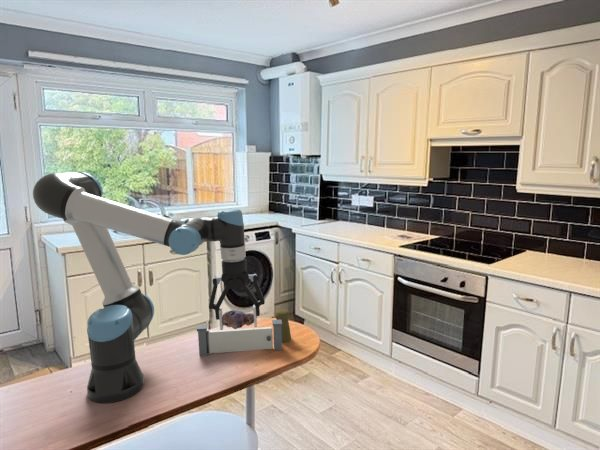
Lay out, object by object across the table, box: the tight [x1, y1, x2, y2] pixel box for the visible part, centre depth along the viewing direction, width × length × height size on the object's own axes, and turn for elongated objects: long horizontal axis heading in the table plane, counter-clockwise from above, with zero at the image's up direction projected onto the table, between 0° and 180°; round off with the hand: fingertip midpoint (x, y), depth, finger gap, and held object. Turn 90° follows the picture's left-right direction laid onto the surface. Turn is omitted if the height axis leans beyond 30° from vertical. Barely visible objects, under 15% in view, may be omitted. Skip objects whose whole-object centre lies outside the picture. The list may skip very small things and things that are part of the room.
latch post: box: [271, 319, 283, 352], centre depth 146 cm, size 3×4×10 cm
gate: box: [206, 326, 274, 355], centre depth 144 cm, size 22×2×8 cm, turn 97°
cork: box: [274, 309, 292, 344], centre depth 153 cm, size 6×6×11 cm
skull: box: [222, 309, 258, 330], centre depth 134 cm, size 12×8×6 cm, turn 124°
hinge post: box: [196, 323, 209, 357], centre depth 142 cm, size 3×4×10 cm
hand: (238, 327), depth 134 cm, fingers closed on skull, 10 cm apart
